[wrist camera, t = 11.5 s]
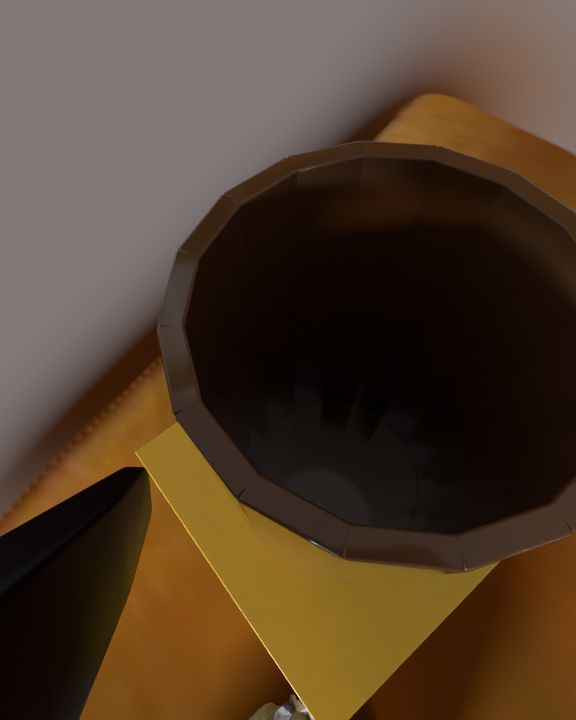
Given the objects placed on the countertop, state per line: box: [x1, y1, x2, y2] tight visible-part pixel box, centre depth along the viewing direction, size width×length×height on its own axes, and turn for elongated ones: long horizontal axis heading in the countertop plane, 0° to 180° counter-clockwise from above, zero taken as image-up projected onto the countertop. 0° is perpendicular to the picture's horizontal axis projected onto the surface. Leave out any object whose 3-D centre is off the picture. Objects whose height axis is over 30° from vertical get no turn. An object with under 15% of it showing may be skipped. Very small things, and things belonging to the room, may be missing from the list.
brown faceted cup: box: [157, 141, 576, 584], centre depth 12 cm, size 7×7×12 cm
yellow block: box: [135, 422, 500, 720], centre depth 19 cm, size 11×10×4 cm
